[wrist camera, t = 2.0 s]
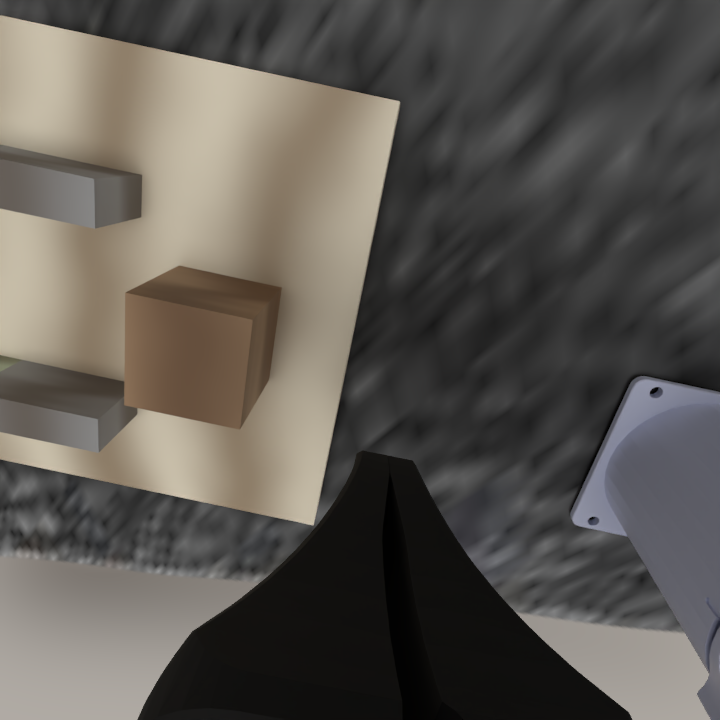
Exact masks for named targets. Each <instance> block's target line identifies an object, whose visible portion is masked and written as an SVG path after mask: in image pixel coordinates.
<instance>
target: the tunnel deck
mask: <svg viewBox="0 0 720 720" xmlns="http://www.w3.org/2000/svg"><path fill="white" fill-rule="evenodd" d="M399 110H400V101H395V100H391V99H386V98H381V97H377V96H372V95H368V94H363V93H358V92H354V91H349V90H344V89H340V88H335V87H330V86H326V85H321V84H317V83H312V82H307V81H303V80H298V79H293V78H289V77H284V76H280V75H275V74H270V73H266V72H261V71H256V70H252V69H247V68H242V67H238V66H233V65H229V64H224V63H219V62H215V61H210V60H205V59H201V58H196V57H191V56H187V55H182V54H178V53H173V52H168V51H164V50H159V49H154V48H150V47H145V46H140V45H136V44H131V43H127V42H122V41H117V40H113V39H108V38H103V37H99V36H94V35H89V34H85V33H80V32H76V31H71V30H66V29H62V28H57V27H52V26H48V25H43V24H38V23H34V22H29V21H25V20H20V19H15V18H11V17H6V16H1V15H0V459H2V460H6V461H11V462H16V463H21V464H25V465H30V466H35V467H40V468H44V469H49V470H54V471H58V472H63V473H68V474H73V475H77V476H82V477H87V478H92V479H96V480H101V481H106V482H111V483H115V484H120V485H125V486H130V487H134V488H139V489H144V490H148V491H153V492H158V493H163V494H167V495H172V496H177V497H182V498H186V499H191V500H196V501H201V502H205V503H210V504H215V505H219V506H224V507H229V508H234V509H238V510H243V511H248V512H253V513H257V514H262V515H267V516H272V517H276V518H281V519H286V520H291V521H295V522H300V523H305V524H309V525H314V521H315V517H316V513H317V508H318V504H319V500H320V495H321V491H322V486H323V481H324V476H325V471H326V466H327V461H328V456H329V451H330V447H331V442H332V437H333V432H334V427H335V422H336V417H337V412H338V408H339V403H340V398H341V393H342V388H343V383H344V378H345V373H346V369H347V364H348V359H349V354H350V349H351V344H352V339H353V334H354V329H355V325H356V320H357V315H358V310H359V305H360V300H361V295H362V290H363V286H364V281H365V276H366V271H367V266H368V261H369V256H370V251H371V247H372V242H373V237H374V232H375V227H376V222H377V217H378V212H379V207H380V203H381V198H382V193H383V188H384V183H385V178H386V173H387V168H388V164H389V159H390V154H391V149H392V144H393V139H394V134H395V129H396V124H397V120H398V115H399ZM177 266H184V267H188V268H193V269H198V270H202V271H207V272H212V273H216V274H221V275H226V276H231V277H235V278H240V279H245V280H249V281H254V282H259V283H263V284H268V285H273V286H277V287H282V290H281V297H280V304H279V311H278V319H277V326H276V333H275V340H274V348H273V355H272V362H271V369H270V377H269V381H268V383H267V384H266V386H265V388H264V390H263V391H262V393H261V395H260V396H259V398H258V400H257V402H256V403H255V405H254V407H253V408H252V410H251V412H250V414H249V415H248V417H247V419H246V420H245V422H244V424H243V425H242V427H241V429H240V430H239V429H234V428H229V427H224V426H220V425H215V424H210V423H206V422H201V421H196V420H191V419H187V418H182V417H177V416H173V415H168V414H163V413H158V412H154V411H149V410H144V409H140V408H135V407H130V406H125V405H124V373H125V292H127V291H129V290H131V289H133V288H135V287H137V286H139V285H141V284H143V283H145V282H147V281H149V280H151V279H153V278H155V277H157V276H159V275H161V274H163V273H165V272H167V271H169V270H171V269H173V268H175V267H177Z"/></svg>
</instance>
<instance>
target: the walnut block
mask: <svg viewBox="0 0 720 720" xmlns="http://www.w3.org/2000/svg"><path fill="white" fill-rule="evenodd" d="M281 290H282V287H277V286H273V285H268V284H263V283H259V282H254V281H249V280H245V279H240V278H235V277H231V276H226V275H221V274H216V273H212V272H207V271H202V270H198V269H193V268H188V267H184V266H177V267H175V268H173V269H171V270H169V271H167V272H165V273H163V274H161V275H159V276H157V277H155V278H153V279H151V280H149V281H147V282H145V283H143V284H141V285H139V286H137V287H135V288H133V289H131V290H129V291H127V292H125V373H124V405H125V406H130V407H135V408H140V409H144V410H149V411H154V412H158V413H163V414H168V415H173V416H177V417H182V418H187V419H191V420H196V421H201V422H206V423H210V424H215V425H220V426H224V427H229V428H234V429H239V430H240V429H241V427H242V425H243V424H244V422H245V420H246V419H247V417H248V415H249V414H250V412H251V410H252V408H253V407H254V405H255V403H256V402H257V400H258V398H259V396H260V395H261V393H262V391H263V390H264V388H265V386H266V384H267V383H268V381H269V377H270V369H271V362H272V355H273V348H274V340H275V333H276V326H277V319H278V311H279V304H280V297H281Z"/></svg>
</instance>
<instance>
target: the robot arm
mask: <svg viewBox="0 0 720 720" xmlns="http://www.w3.org/2000/svg"><path fill="white" fill-rule="evenodd" d="M655 387H659V388H658V391H657V392H656V393H654V394H650V391H651V390H652V389H653V388H655ZM570 516H571V519H572V521H573V523H574V524H575V525H577V526H580V527H585V528H590V529H594V530H599V531H604V532H609V533H613V534H618V535H623V536H628V537H629V539H630V541H631V543H632V544H633V546H634V548H635V549H636V551H637V553H638V554H639V556H640V558H641V559H642V561H643V563H644V564H645V566H646V568H647V570H648V571H649V573H650V575H651V576H652V578H653V580H654V581H655V583H656V585H657V586H658V588H659V590H660V592H661V593H662V595H663V597H664V598H665V600H666V602H667V603H668V605H669V607H670V608H671V610H672V612H673V614H674V615H675V617H676V619H677V620H678V622H679V624H680V625H681V627H682V629H683V630H684V632H685V634H686V635H687V637H688V639H689V640H690V642H691V644H692V645H693V647H694V649H695V651H696V652H697V654H698V656H699V657H700V659H701V661H702V663H703V664H704V666H705V667H706V669H707V671H708V673H709V677H708V680H707V681H706V683H705V685H704V686H703V687H702V688H701V689H700V690H699V691H698V693H697V695H698V697H699V699H700V701H701V702H702V704H703V706H704V708H705V710H706V712H707V713H708V715H709V717H710V719H711V720H720V392H717V391H713V390H708V389H703V388H699V387H694V386H689V385H685V384H680V383H675V382H671V381H666V380H661V379H657V378H652V377H647V376H640V377H637V378H635V379H634V380H632V382H631V383H630V385H629V387H628V389H627V391H626V393H625V395H624V398H623V400H622V402H621V404H620V406H619V408H618V411H617V413H616V415H615V417H614V419H613V421H612V424H611V426H610V428H609V430H608V432H607V434H606V437H605V439H604V441H603V443H602V445H601V447H600V450H599V452H598V454H597V456H596V458H595V460H594V463H593V465H592V467H591V469H590V471H589V473H588V476H587V478H586V480H585V482H584V484H583V486H582V489H581V491H580V493H579V495H578V497H577V499H576V502H575V504H574V506H573V508H572V510H571V513H570ZM591 517H595V518H594V519H592V520H588V519H589V518H591ZM138 720H632V718H631V716H630V714H629V712H628V711H626V710H625V709H624V708H622V707H621V706H620V705H619V704H618V703H616V702H615V701H614V700H612V699H611V698H610V697H609V696H607V695H606V694H605V693H604V692H602V691H601V690H600V689H599V688H598V687H596V686H595V685H594V684H593V683H591V682H590V681H589V680H587V679H586V678H585V677H584V676H583V675H581V674H580V673H579V672H578V671H577V670H575V669H574V668H573V667H572V666H571V665H569V663H567V662H566V661H565V660H564V659H563V658H562V657H561V656H560V655H559V654H557V653H556V652H555V651H554V650H553V649H552V648H551V647H550V646H549V645H547V644H546V643H545V642H544V641H543V640H542V639H541V638H540V637H539V636H538V635H537V634H536V633H535V632H534V631H533V630H532V629H531V628H530V627H529V626H528V625H527V624H526V623H525V622H524V621H523V620H522V619H521V618H520V617H519V616H518V615H517V614H516V613H515V611H514V610H513V609H512V608H511V607H510V606H509V605H508V604H507V603H506V602H505V601H504V600H503V599H502V597H501V596H500V595H499V594H498V593H497V592H496V591H495V589H494V588H493V587H492V586H491V585H490V583H489V582H488V581H487V580H486V578H485V577H484V576H483V575H482V574H481V572H480V571H479V570H478V569H477V567H476V566H475V565H474V563H473V562H472V561H471V559H470V558H469V557H468V555H467V554H466V552H465V551H464V549H463V548H462V547H461V545H460V544H459V542H458V541H457V539H456V538H455V536H454V534H453V533H452V531H451V530H450V528H449V527H448V525H447V523H446V521H445V520H444V518H443V516H442V515H441V513H440V511H439V510H438V508H437V506H436V504H435V502H434V501H433V499H432V497H431V495H430V493H429V491H428V489H427V487H426V485H425V483H424V481H423V479H422V477H421V475H420V473H419V471H418V469H417V467H416V465H415V464H414V462H413V461H412V460H407V459H402V458H397V457H392V456H387V455H382V454H377V453H372V452H367V451H361V452H359V453H357V455H356V459H355V464H354V467H353V470H352V472H351V474H350V476H349V478H348V480H347V482H346V484H345V486H344V487H343V489H342V491H341V492H340V494H339V496H338V497H337V499H336V500H335V502H334V503H333V505H332V506H331V508H330V509H329V510H328V512H327V513H326V514H325V516H324V517H323V519H322V520H321V521H320V523H319V524H318V525H317V526H316V528H315V529H314V530H313V531H312V532H311V534H310V535H309V536H308V537H307V538H306V539H305V540H304V541H303V543H302V544H301V545H300V546H299V547H298V548H297V549H296V550H295V551H294V552H293V553H292V554H291V555H290V556H289V557H288V558H287V559H286V560H285V561H284V562H283V563H282V564H281V565H280V566H279V567H278V568H277V569H276V570H274V571H273V572H272V573H271V574H270V575H269V576H268V577H267V578H265V579H264V580H263V581H262V582H260V583H259V584H258V585H257V586H255V587H254V588H253V589H252V590H250V591H249V592H248V593H247V594H246V595H244V596H243V597H242V598H241V599H239V600H238V601H237V602H235V603H234V604H232V605H231V606H230V607H228V608H227V609H225V610H224V611H223V612H221V613H219V614H218V615H216V616H215V617H213V618H212V619H210V620H209V621H207V622H206V623H204V624H203V625H201V626H200V627H199V628H197V629H195V630H194V631H192V633H191V634H190V635H189V637H188V638H187V639H186V640H185V642H184V643H183V644H182V646H181V647H180V649H179V650H178V651H177V653H176V654H175V655H174V657H173V658H172V660H171V661H170V663H169V664H168V666H167V667H166V668H165V670H164V671H163V673H162V675H161V676H160V678H159V679H158V681H157V683H156V684H155V686H154V688H153V690H152V692H151V693H150V695H149V697H148V699H147V700H146V702H145V704H144V706H143V709H142V711H141V713H140V715H139V718H138Z"/></svg>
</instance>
